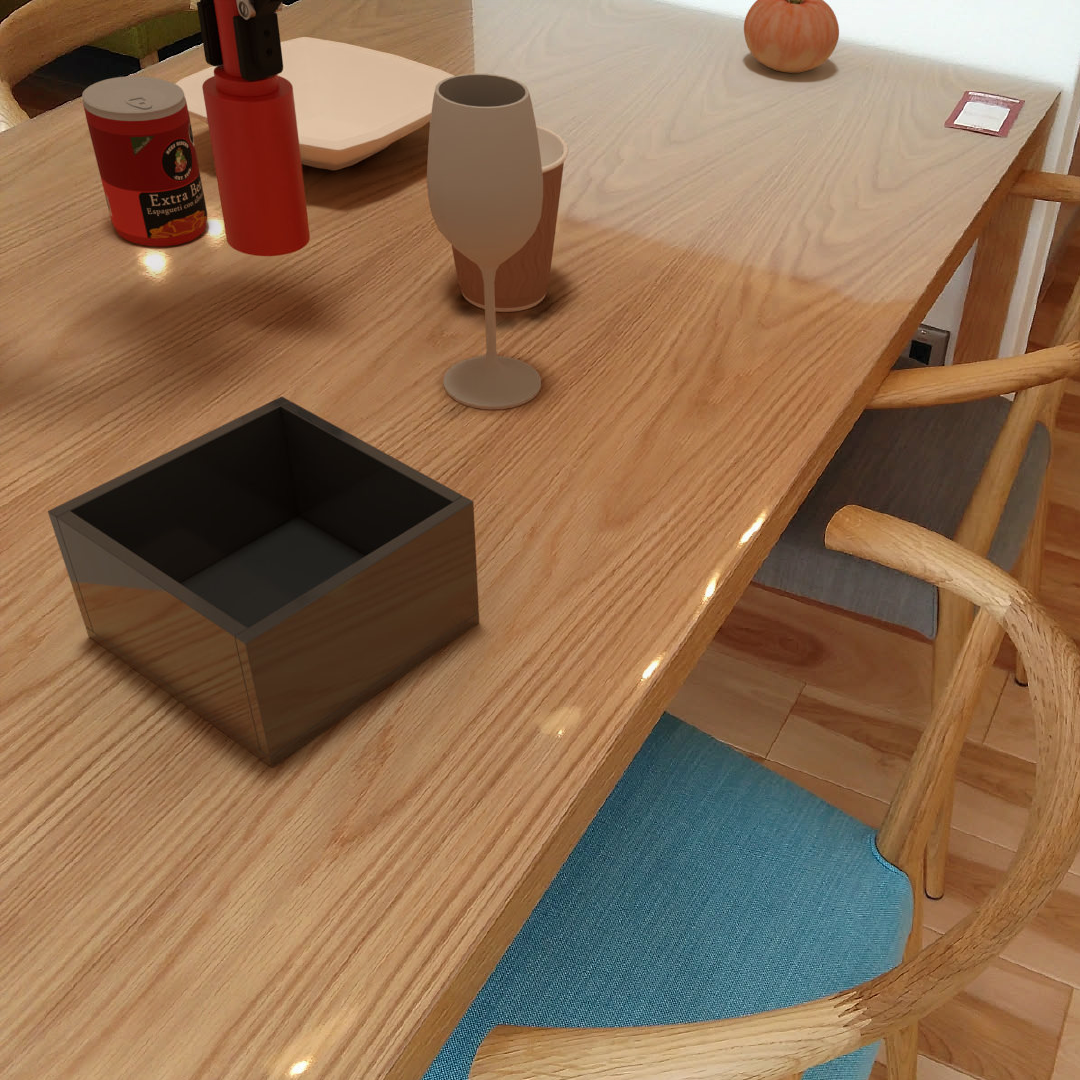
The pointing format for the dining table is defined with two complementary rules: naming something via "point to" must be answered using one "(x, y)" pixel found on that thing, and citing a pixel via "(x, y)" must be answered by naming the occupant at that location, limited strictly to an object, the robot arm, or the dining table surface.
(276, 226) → the bottle
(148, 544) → the dark square storage bin
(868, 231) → the dining table surface
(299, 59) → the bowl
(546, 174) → the coffee cup
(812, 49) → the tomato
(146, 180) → the canned food
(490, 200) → the wineglass
